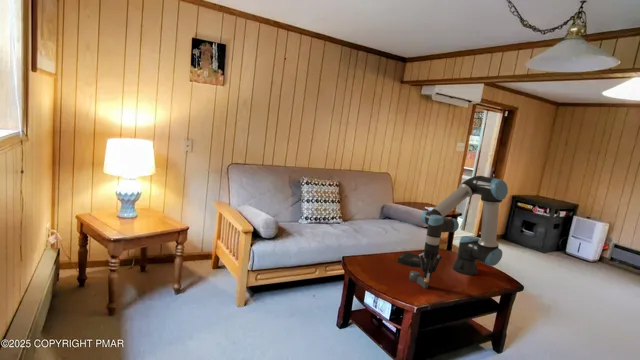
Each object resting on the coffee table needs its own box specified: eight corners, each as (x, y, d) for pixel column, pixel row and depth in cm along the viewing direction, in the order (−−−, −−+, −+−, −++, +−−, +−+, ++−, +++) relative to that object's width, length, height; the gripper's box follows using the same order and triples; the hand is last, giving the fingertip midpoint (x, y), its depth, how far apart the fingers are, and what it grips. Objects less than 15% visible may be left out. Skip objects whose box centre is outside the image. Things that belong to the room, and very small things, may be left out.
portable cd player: (422, 270, 226) (423, 265, 225) (397, 263, 235) (398, 257, 234) (429, 264, 240) (430, 258, 239) (405, 257, 249) (406, 251, 248)
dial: (406, 277, 207) (407, 270, 206) (416, 277, 209) (417, 270, 208) (421, 288, 194) (422, 281, 193) (430, 288, 196) (432, 281, 195)
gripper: (440, 241, 199) (433, 281, 202) (418, 240, 197) (412, 279, 201) (446, 246, 192) (439, 287, 195) (424, 244, 190) (417, 285, 193)
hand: (426, 283), depth 198 cm, fingers closed
